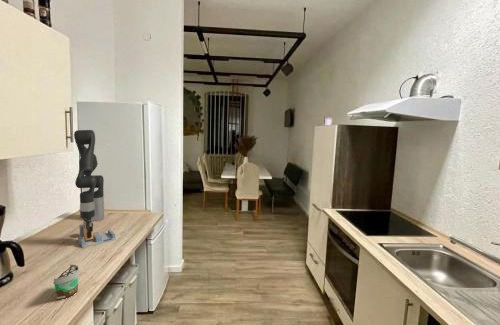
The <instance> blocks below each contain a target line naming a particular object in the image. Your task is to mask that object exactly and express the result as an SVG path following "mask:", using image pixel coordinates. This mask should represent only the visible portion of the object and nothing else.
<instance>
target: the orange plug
mask: <svg viewBox="0 0 500 325" xmlns="http://www.w3.org/2000/svg"><path fill="white" fill-rule="evenodd" d="M87 227H88V226H87ZM89 230H90V229H89ZM93 233H94V230H93V231H92V237H91V238H87V229H86V228H85V227H84V237H83V238H84V239H85V240H90V239H93Z"/></svg>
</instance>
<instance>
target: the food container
mask: <svg viewBox="0 0 500 325" xmlns="http://www.w3.org/2000/svg"><path fill="white" fill-rule="evenodd" d="M80 274H81V270H80V267H79V266H78V265H76V264H70V266H69V267H68V268H67V269H66V270H64V271H63V272H62V273H61V274H59V276H58V277H56V278H54V279H53V285H54V289H55V296H56V297H55V298H56V301H63V300H62V299H64V300H67V299H69V297H70V298H71V296H72V297H73V296H75V295H76V294H77V293H78V289H79V275H80ZM75 293H76V294H75ZM74 294H75V295H74ZM66 298H67V299H66Z"/></svg>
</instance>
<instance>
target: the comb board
mask: <svg viewBox="0 0 500 325" xmlns="http://www.w3.org/2000/svg"><path fill="white" fill-rule="evenodd" d="M116 240H117V238H116V233H115V232H114V231H113V230H112V229H111V228H110V229H107V232H104V233H99V232H98V231H95V232H93V239H90V240H85V239H84V237H83V238H82V236H81V235H80V234H79V235H78V236H77V242H78V243H79V245H80V246H81V247H82V249H84V248H89V247H93V246H97V245H101V244H105V243H110V242H114V241H116Z"/></svg>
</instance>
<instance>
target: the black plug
mask: <svg viewBox="0 0 500 325" xmlns="http://www.w3.org/2000/svg"><path fill="white" fill-rule="evenodd" d="M80 235H81V236H82V238H84V224H80V225H79V236H80Z"/></svg>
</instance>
